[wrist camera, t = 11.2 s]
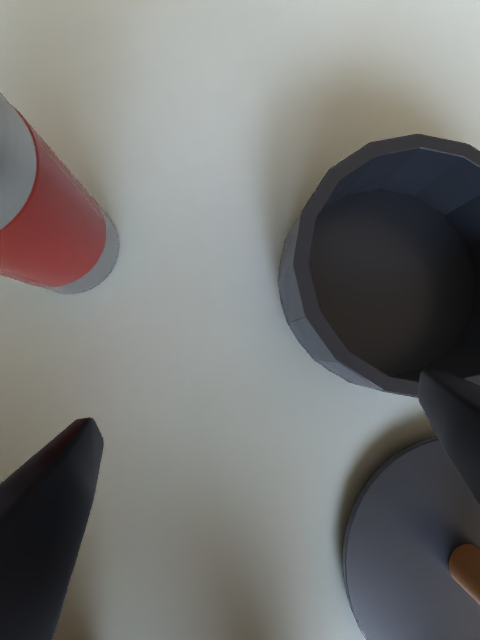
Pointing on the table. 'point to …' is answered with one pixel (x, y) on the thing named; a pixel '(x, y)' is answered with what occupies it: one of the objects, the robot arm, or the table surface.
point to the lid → (415, 550)
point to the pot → (389, 265)
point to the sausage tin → (48, 215)
